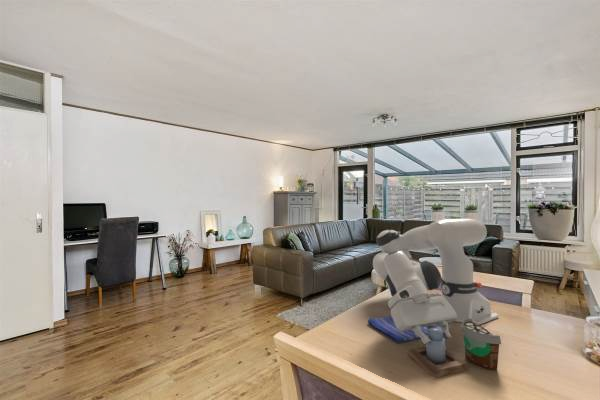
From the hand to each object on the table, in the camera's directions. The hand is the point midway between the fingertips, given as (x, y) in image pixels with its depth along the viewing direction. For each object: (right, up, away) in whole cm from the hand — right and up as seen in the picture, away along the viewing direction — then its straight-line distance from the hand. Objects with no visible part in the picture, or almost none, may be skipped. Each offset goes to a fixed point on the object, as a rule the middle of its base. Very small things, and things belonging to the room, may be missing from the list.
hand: (438, 340), depth 82 cm
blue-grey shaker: (0, -6, +1) cm, 6 cm away
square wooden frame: (0, -7, +1) cm, 7 cm away
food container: (+11, -7, +1) cm, 13 cm away
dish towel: (0, -7, +24) cm, 25 cm away
